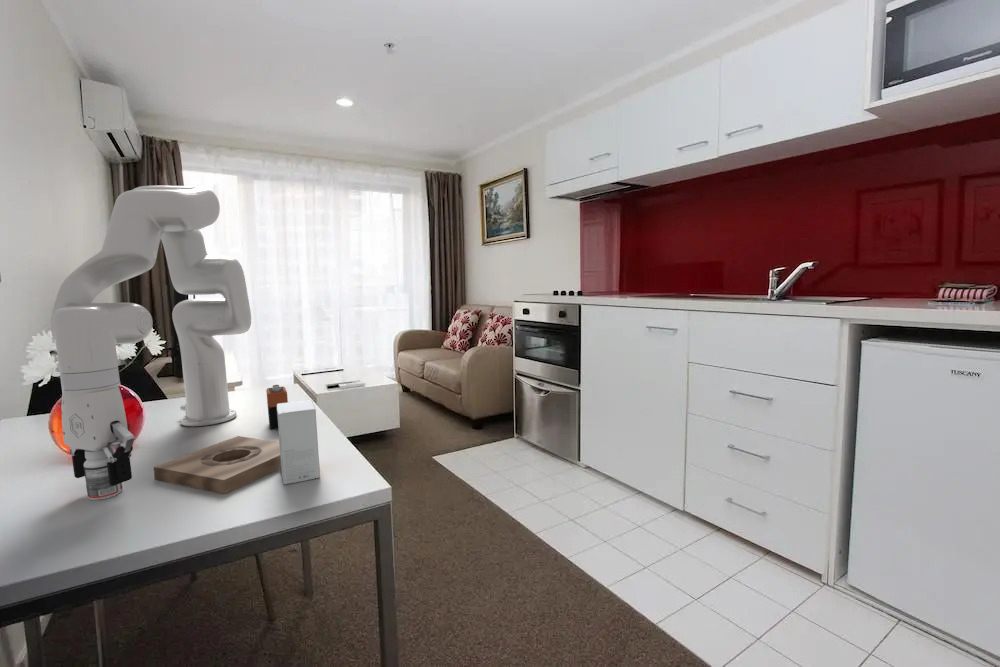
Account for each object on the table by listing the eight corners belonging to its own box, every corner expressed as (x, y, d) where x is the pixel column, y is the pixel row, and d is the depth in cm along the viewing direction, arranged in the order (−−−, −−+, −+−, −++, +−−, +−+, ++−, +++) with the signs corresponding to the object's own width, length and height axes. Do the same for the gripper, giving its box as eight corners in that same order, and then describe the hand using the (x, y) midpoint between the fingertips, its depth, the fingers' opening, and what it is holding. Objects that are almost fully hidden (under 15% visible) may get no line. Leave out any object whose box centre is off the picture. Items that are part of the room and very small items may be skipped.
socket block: (154, 479, 90) (153, 466, 90) (239, 447, 107) (238, 436, 106) (225, 494, 83) (223, 480, 83) (303, 456, 100) (302, 445, 100)
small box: (320, 478, 89) (315, 408, 87) (282, 485, 86) (277, 413, 85) (316, 463, 96) (311, 398, 95) (281, 469, 94) (275, 403, 92)
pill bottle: (101, 489, 87) (95, 443, 85) (129, 487, 87) (123, 442, 86) (80, 501, 82) (74, 453, 81) (110, 500, 82) (104, 452, 81)
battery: (270, 430, 118) (267, 390, 117) (269, 423, 124) (265, 384, 123) (290, 427, 120) (286, 387, 119) (287, 420, 126) (284, 382, 125)
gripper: (33, 381, 82) (47, 480, 84) (98, 388, 75) (111, 495, 77) (85, 373, 89) (96, 464, 91) (148, 378, 82) (159, 476, 84)
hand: (103, 478), depth 84 cm, fingers open, 9 cm apart
